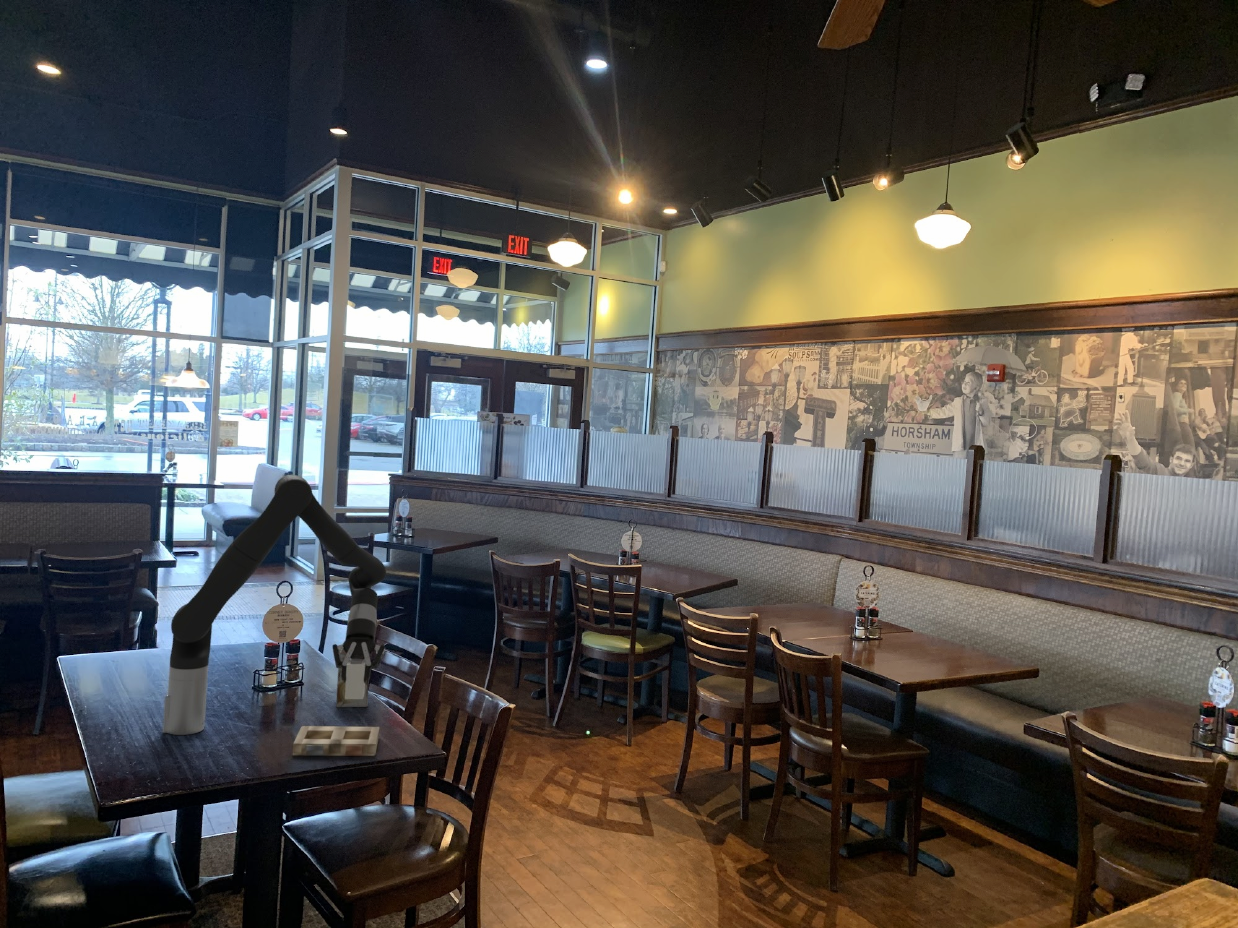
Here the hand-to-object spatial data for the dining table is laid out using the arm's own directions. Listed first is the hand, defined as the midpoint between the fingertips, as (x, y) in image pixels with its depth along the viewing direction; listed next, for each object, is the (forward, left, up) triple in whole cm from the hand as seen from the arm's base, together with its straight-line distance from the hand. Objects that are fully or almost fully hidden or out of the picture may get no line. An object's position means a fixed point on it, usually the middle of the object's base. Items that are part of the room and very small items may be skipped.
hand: (355, 680), depth 225 cm
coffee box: (-3, +37, -18) cm, 41 cm away
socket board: (-3, +1, -18) cm, 18 cm away
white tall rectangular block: (0, +2, -5) cm, 5 cm away
